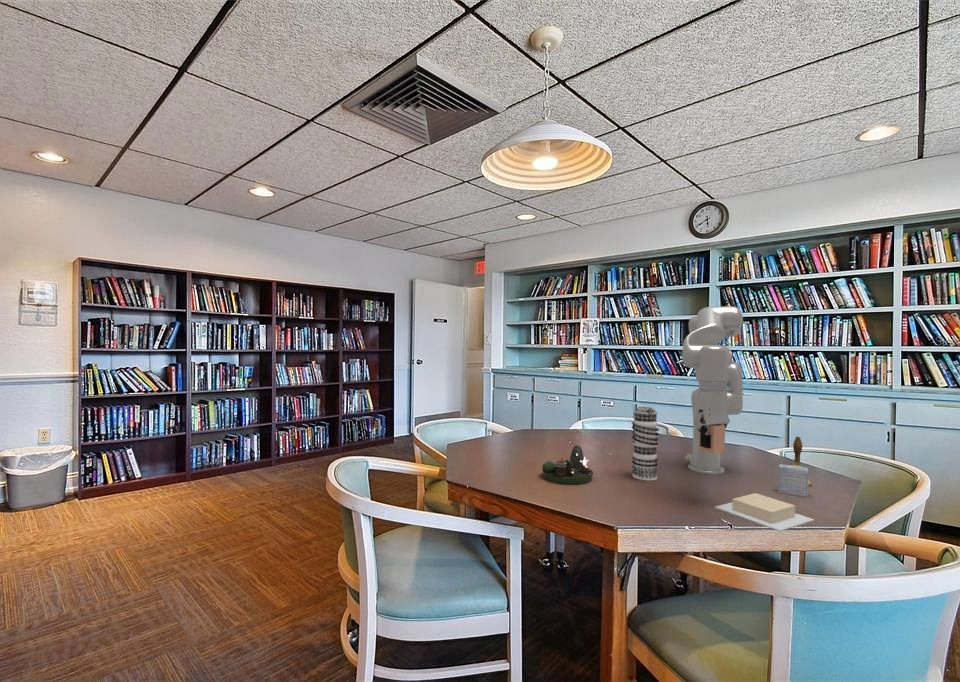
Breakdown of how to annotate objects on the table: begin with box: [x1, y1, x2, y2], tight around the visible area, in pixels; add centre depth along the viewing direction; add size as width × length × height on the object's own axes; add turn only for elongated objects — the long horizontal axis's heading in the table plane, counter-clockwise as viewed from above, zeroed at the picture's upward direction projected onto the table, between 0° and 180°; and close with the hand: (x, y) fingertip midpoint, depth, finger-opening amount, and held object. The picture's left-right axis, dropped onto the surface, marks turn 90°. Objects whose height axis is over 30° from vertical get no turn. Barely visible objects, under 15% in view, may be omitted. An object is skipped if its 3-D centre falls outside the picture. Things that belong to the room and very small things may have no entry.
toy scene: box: [542, 444, 594, 486], centre depth 160 cm, size 18×18×11 cm
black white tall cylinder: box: [631, 406, 660, 481], centre depth 161 cm, size 9×9×25 cm
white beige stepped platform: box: [714, 492, 815, 532], centre depth 126 cm, size 18×16×4 cm
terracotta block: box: [699, 423, 726, 454], centre depth 136 cm, size 5×5×8 cm
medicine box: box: [777, 463, 809, 498], centre depth 145 cm, size 8×4×9 cm, turn 56°
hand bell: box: [790, 436, 812, 487], centre depth 157 cm, size 8×8×16 cm
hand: (711, 445), depth 136 cm, fingers closed on terracotta block, 5 cm apart
